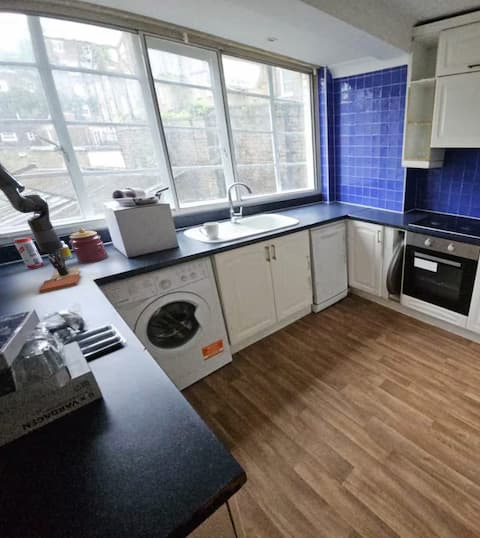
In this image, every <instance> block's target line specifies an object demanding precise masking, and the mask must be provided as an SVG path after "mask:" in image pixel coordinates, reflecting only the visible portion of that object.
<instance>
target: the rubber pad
mask: <svg viewBox="0 0 480 538" xmlns="http://www.w3.org/2000/svg"><path fill="white" fill-rule="evenodd" d="M80 278H81V275H80V273H78V274H75V275H71V276H69V278H68V279H63V280H58V281H56V279H51V278H50V279H51V280H50V279H46V280H44V281H43V283H42V284H41V286H40V287H39V289H38V292H39V294H42V293H47V292H52V291H57V290H61V289H65V288H71V287H74V286H75V287H76V286H78V283H79V281H80Z"/></svg>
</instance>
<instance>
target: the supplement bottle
mask: <svg viewBox="0 0 480 538" xmlns="http://www.w3.org/2000/svg"><path fill="white" fill-rule="evenodd" d="M60 241H61V243H62V245H63V247H62V248H61V249H58V250H59V251H60V250H61V251H62V254H63V257H64V260H65V261H66V260H69V259H72V258H73V257H74V255H73V254H72V252H71V249H70V247H69V245H68V244H65V241H64V240H60Z"/></svg>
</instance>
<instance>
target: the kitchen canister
mask: <svg viewBox="0 0 480 538" xmlns="http://www.w3.org/2000/svg"><path fill="white" fill-rule="evenodd" d="M68 237H69V238H70V240H69V241H68V242H69V244H70V245H71V249H72V250H73V252H74V255H75V257H76V261H78V263H80V264H90V263H95V262H99V261H102V260H105V259H106V258H108V252H107V250H106V247H105V245H104V242H103V241H102V239H101V235H98V232H97V231H95V230H85V228H83V227H82V228H79V229H77V231H76V232H74V233H71V235H70V236H68Z"/></svg>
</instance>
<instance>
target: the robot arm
mask: <svg viewBox="0 0 480 538" xmlns="http://www.w3.org/2000/svg"><path fill="white" fill-rule="evenodd" d="M25 189H26V187H25V185H24V184H23V183H22V182H21V181H20V180H19V179H18V178H17V177H16V176H14V175H13V174H12V173H11V172H10V171H9V170H8V169H7V168H6V167H5V166H4V165H3V163H1V162H0V191H1V192H2V193H3V194H4V196H5V197H6V199H7V200H8V202H9V203H10V205H11V206H12V208H13V209H14V210H16V211H17V212H19V213H21V214H30V213H33V215H32V217H30V218H28V219H27V221H26V223H27V225H28V227H29V229H30V230H31V234H32V235H33V238H34V241H35V242H36V244H37V247H38V248H39V250H40V252H43V253H46V252H47V253H48V255H47V257H48V261H49V263H50V264H51V265H52V267H53V269H55V270H56V271H57V270H58V271H57V273H58V272H59V274H60V275H61V276H63V275H66V274H67V273H66V271H65V269H64V266H63V264H62V263H65V264H66V260H64V257H63V254H62V251H61V250H60V251H59V250H58V249H61V248H62V247H63V245H62V243H61V241H62V240H61V239H60V236H59V234H58V233H57V231H56V230H55V228H54V225H53V223H52V222H51V219H50V209H49V203H48V201H47V199H46V198H45V197H43V196H42V195H40V194H35V193H33V194H27V195H22V194H21V193H23V192H25ZM57 264H58V266H57Z"/></svg>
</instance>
